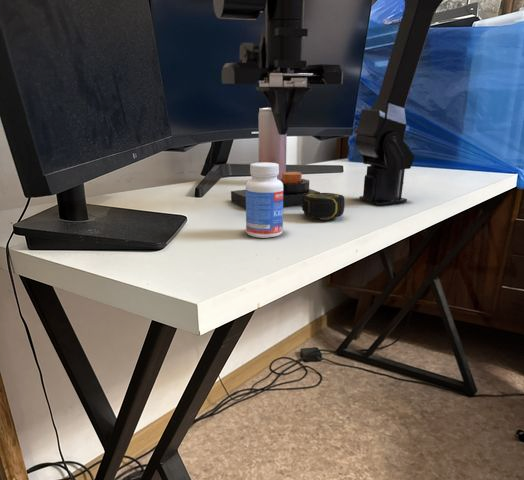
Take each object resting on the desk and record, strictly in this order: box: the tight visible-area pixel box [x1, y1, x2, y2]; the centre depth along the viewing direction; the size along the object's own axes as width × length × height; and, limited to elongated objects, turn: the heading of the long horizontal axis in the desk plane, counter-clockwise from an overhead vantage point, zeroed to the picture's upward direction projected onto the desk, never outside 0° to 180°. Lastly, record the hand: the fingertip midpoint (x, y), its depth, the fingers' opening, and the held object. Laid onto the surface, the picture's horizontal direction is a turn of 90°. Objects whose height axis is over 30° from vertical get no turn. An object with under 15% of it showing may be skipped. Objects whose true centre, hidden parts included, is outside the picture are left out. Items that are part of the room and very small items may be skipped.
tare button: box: [282, 171, 303, 183], centre depth 95 cm, size 4×4×2 cm
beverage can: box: [257, 107, 288, 179], centre depth 110 cm, size 6×6×15 cm
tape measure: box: [300, 192, 346, 221], centre depth 83 cm, size 7×7×4 cm
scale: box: [230, 178, 321, 209], centre depth 94 cm, size 14×9×4 cm, turn 117°
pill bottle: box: [245, 162, 284, 239], centre depth 73 cm, size 6×5×10 cm
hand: (282, 134), depth 83 cm, fingers closed
